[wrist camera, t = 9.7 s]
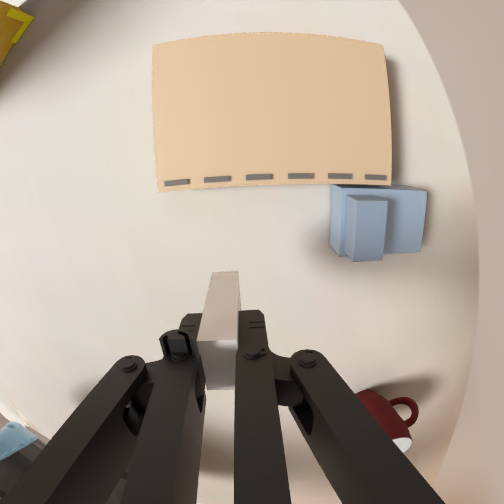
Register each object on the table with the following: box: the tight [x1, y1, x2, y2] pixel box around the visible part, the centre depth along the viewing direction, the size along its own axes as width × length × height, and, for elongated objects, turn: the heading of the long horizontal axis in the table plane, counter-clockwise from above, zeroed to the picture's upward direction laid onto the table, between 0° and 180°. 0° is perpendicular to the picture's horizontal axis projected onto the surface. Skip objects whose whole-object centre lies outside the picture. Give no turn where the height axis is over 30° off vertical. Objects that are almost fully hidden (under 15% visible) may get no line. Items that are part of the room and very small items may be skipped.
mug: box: [355, 390, 419, 453], centre depth 27 cm, size 10×8×10 cm
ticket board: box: [152, 32, 392, 192], centre depth 19 cm, size 18×12×3 cm, turn 93°
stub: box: [329, 184, 427, 262], centre depth 21 cm, size 8×5×5 cm
